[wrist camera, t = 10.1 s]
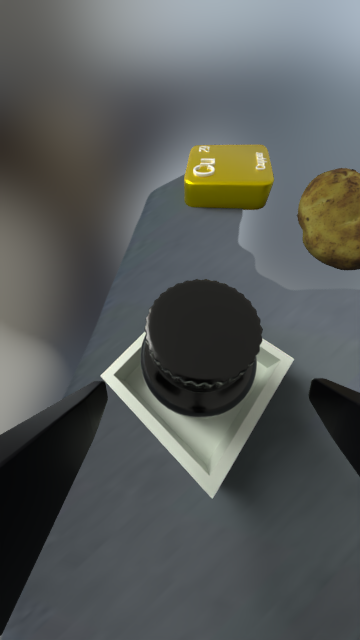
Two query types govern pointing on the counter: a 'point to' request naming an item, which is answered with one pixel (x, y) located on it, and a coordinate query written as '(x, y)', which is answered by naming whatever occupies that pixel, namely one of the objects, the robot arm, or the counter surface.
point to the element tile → (228, 176)
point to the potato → (332, 218)
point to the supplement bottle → (200, 348)
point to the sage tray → (199, 433)
